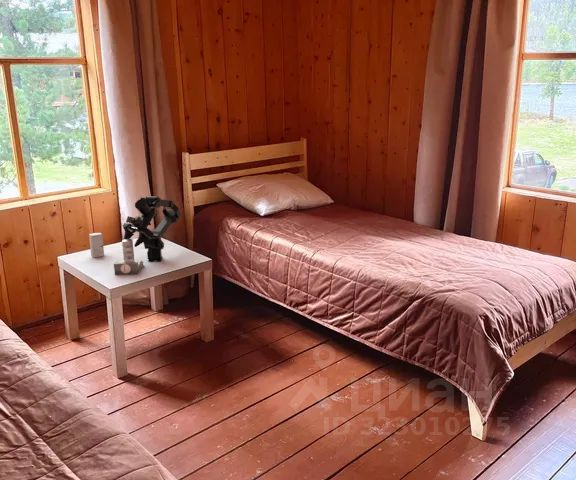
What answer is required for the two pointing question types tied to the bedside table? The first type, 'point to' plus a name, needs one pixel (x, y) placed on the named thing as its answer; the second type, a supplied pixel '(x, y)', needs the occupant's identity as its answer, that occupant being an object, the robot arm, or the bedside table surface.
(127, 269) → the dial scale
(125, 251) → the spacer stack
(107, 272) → the bedside table surface
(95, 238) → the skincare box
